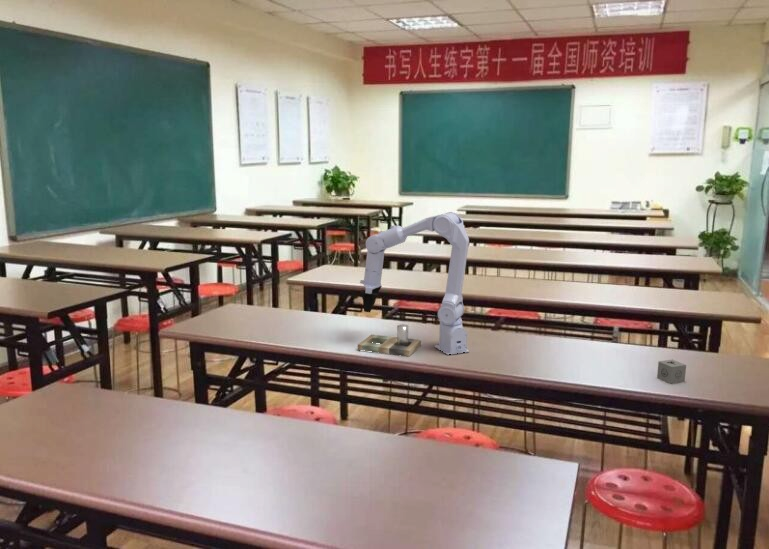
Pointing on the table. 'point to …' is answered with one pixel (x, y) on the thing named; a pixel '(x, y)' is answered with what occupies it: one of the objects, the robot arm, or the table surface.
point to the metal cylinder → (402, 335)
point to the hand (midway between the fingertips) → (368, 308)
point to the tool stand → (388, 345)
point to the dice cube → (671, 371)
